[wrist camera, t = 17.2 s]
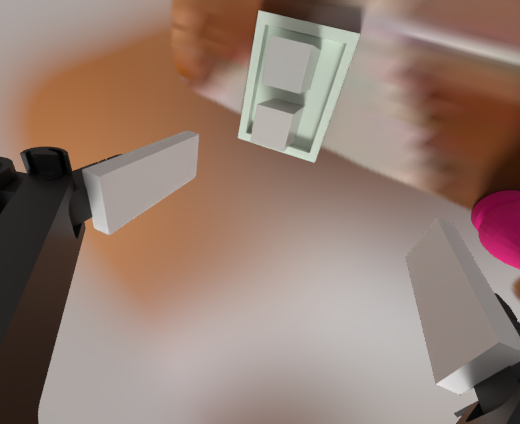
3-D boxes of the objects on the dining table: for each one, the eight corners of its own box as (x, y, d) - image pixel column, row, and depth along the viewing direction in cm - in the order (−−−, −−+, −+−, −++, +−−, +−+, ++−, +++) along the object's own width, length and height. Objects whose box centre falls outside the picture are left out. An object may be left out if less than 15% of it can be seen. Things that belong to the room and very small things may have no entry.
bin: (264, 14, 28) (258, 10, 26) (360, 36, 26) (360, 33, 25) (243, 134, 36) (237, 137, 34) (316, 157, 34) (314, 162, 32)
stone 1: (278, 81, 30) (261, 83, 24) (287, 42, 28) (270, 35, 22) (310, 89, 30) (299, 93, 24) (321, 50, 27) (312, 45, 22)
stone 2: (267, 129, 34) (250, 141, 28) (274, 97, 31) (256, 104, 26) (295, 137, 33) (283, 151, 27) (304, 106, 31) (293, 114, 25)
